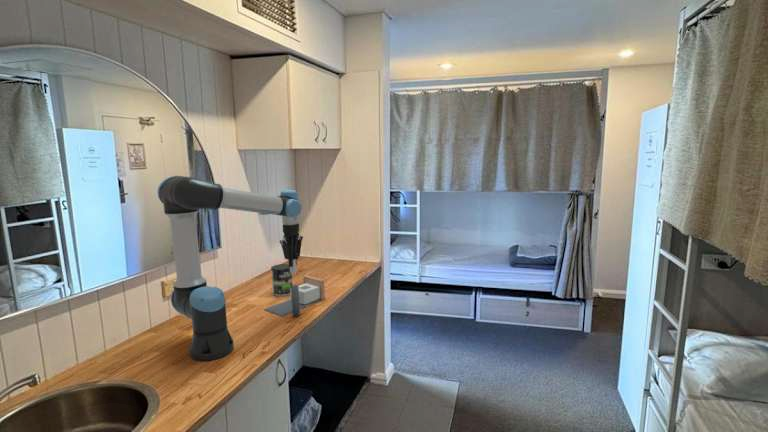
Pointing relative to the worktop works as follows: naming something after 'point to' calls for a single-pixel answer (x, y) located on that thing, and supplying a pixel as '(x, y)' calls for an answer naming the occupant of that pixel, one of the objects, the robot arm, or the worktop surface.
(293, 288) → the dowel
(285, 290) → the coffee can
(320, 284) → the wall
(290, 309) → the rubber mat
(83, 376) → the worktop surface
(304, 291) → the hole block
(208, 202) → the robot arm
